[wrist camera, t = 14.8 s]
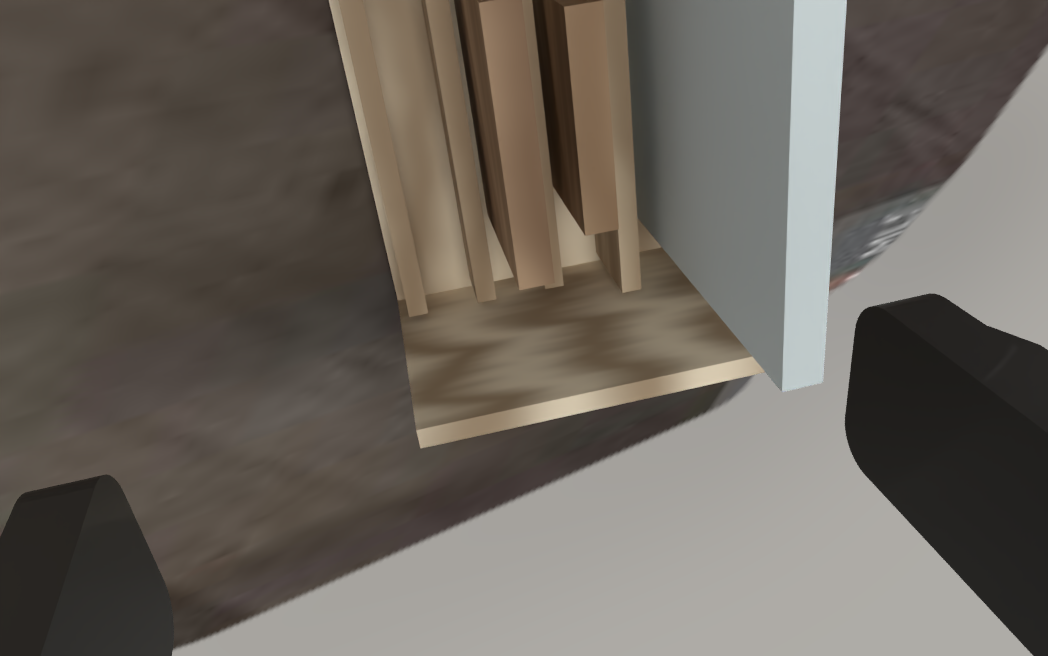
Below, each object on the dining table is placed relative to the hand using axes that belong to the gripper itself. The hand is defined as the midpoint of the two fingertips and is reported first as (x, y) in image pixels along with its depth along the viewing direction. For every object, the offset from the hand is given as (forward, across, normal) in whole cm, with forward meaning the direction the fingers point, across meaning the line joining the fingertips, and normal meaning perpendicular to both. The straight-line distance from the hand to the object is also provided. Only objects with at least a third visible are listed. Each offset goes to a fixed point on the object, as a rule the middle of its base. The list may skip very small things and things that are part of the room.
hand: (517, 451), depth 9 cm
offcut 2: (+34, -9, +5) cm, 35 cm away
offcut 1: (+34, -6, +5) cm, 35 cm away
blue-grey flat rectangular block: (+33, -13, +4) cm, 36 cm away
